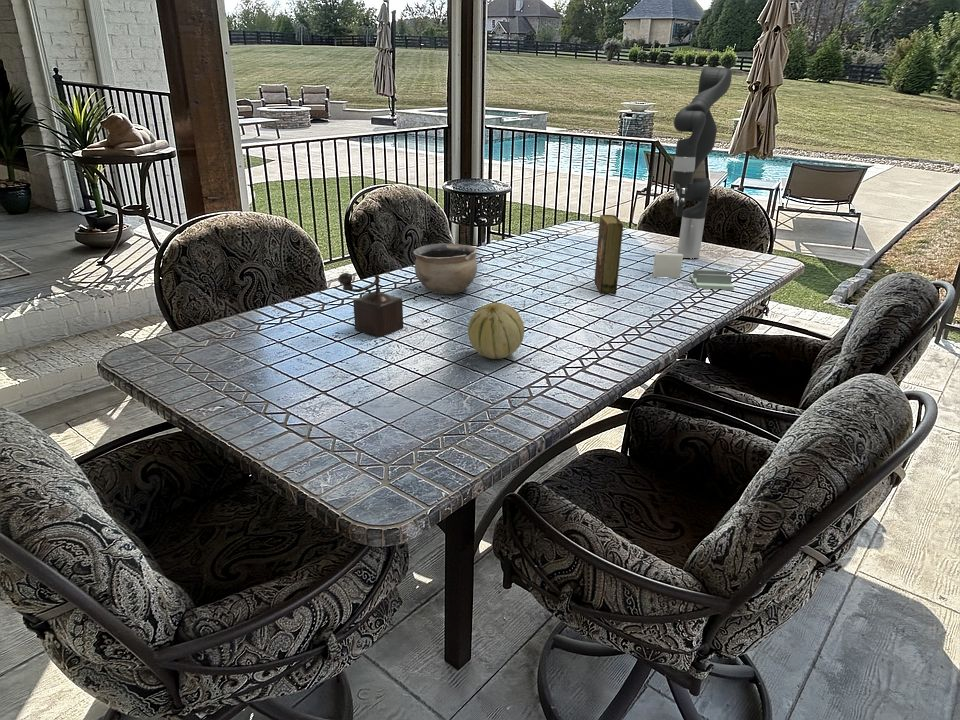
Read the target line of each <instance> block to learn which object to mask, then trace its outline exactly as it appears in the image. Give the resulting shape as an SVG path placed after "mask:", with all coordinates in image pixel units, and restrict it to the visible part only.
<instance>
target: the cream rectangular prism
mask: <svg viewBox="0 0 960 720" xmlns="http://www.w3.org/2000/svg"><path fill="white" fill-rule="evenodd" d="M682 264H683V255H682V254H677V253H670V252H669V253H667V252H665V253H664V252H654V257H653V264H652V265H653V267H652V275H653V276H652V275H651V276H652V278H653V277H672V278H671V279H674V278H680V279H681V275H682V267H683V265H682Z"/></svg>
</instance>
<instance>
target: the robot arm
mask: <svg viewBox="0 0 960 720" xmlns="http://www.w3.org/2000/svg"><path fill="white" fill-rule="evenodd" d="M732 76H733V74H732V70H731V69H729V68H726V67H715V66H705V67H703V69H702V70H701V73H700V75H699V82H698V88H697V89H698V90H697V94H696V95H695V96H694V97H693V98H692V100H691V102H690V103H689V104H687V105H685V106H684V107H682V108H681V109H680V110H679V111H678V112H677V114H676V115H675V117H674V121H673V126H674V129H675V130H676V131H677V132H680V133H691V135H690V136H689V137H687V138H681V139H679V140H677V142H676V146H675V157H674V161H673V165H672V174H671V183H672V184H675V185H674V194H673V211H672V212H673V214H675V216H676V217H677V218H681V224H680V231H679V236H678V237H679V239H678V245H677V252H676V254H682V255H683V258H690V259H689V260H695V259H694V258H698V259H699V258H700V253H701V248H702V241H703V240H702V239H703V235H704V228H705V227H704V226H705V220H706V212H707V208H708V202H709V197H710V193H711V185H712V184H711V180H710V178H707V177H694V176H695V174H696V172H697V169H698V168H699V166H700V165H701V164H702V163H703V161H704V160H705V159H706V158H707V157H708V156H709V155H710V153H711V152H712V150H713V148H714V147H715V144H716V143H715V142H716V139H717V138H716V137H717V133H718V129H717V124H716V121H715V119H714V116H713V115H712V113H711V110H710V109H711V107H712V106H713V105H714V104H715V103H716V102H718V101H719V100H720V99H721V98H722V97H723V96H725V94H726V93H727V92H728V90H729V89H730V87H731V83H732ZM687 201H693V202H695V201H696V202H698V203H697V204H695V205H694V206H691V207H687V208H685V206H686V204H687ZM684 208H685V209H684ZM692 258H693V259H692Z"/></svg>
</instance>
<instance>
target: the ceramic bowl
mask: <svg viewBox="0 0 960 720" xmlns="http://www.w3.org/2000/svg"><path fill="white" fill-rule="evenodd" d="M413 255H414V257H415V258H416V259H415V262H414V273H415V276H416V278H417V280H418V281H419V282H420V284H422V286H423V287H425V288H426V289H427V290H428V291H430V292H431V293H435V294H440V295H454V294H455V295H456V294H459V293H461V292H463V291H465V290H466V289H468V288H469V286H471V284H472V283H473V282H474V279H475V277H476V276H477V275H476V274H477V272H478V263H477V258H476V257H477V256H476V255H477V247H476V246H473V245H470V244H469V245H468V244H460V243H459V244H458V243H445V242H444V243H442V242H439V243H431V244H428V245H423V246H420V247H417V248H416V249H414V250H413Z"/></svg>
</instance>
